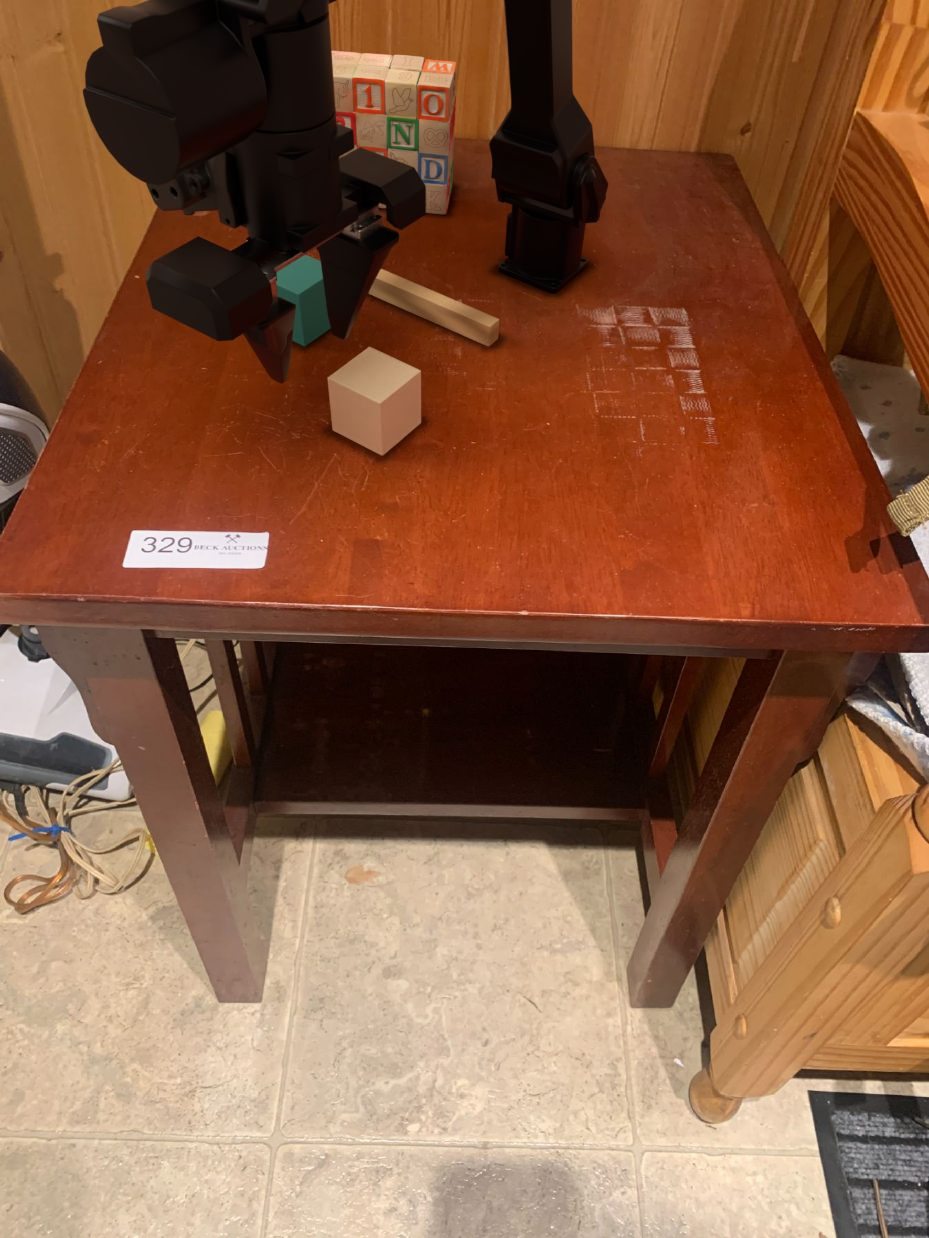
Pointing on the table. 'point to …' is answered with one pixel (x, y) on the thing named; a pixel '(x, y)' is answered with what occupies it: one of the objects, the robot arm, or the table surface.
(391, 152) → the stack of blocks
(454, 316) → the rail
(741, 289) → the table surface
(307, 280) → the teal block
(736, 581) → the table surface
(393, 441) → the cream block
